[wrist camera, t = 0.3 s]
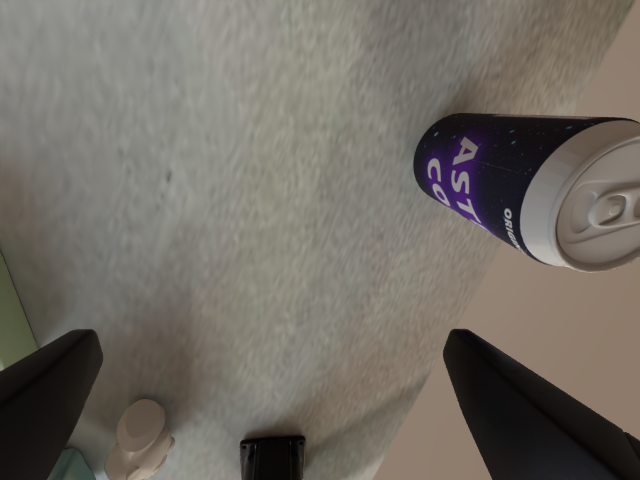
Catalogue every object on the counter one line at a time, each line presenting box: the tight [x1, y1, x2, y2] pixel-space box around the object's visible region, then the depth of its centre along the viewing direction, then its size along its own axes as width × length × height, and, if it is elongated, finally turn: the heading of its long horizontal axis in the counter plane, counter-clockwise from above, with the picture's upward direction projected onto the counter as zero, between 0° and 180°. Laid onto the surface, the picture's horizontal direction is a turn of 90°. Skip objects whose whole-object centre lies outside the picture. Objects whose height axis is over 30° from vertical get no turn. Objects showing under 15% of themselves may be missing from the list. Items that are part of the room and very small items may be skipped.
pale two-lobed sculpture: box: [105, 399, 175, 480], centre depth 27 cm, size 4×8×5 cm
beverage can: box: [413, 113, 640, 273], centre depth 16 cm, size 6×6×12 cm
